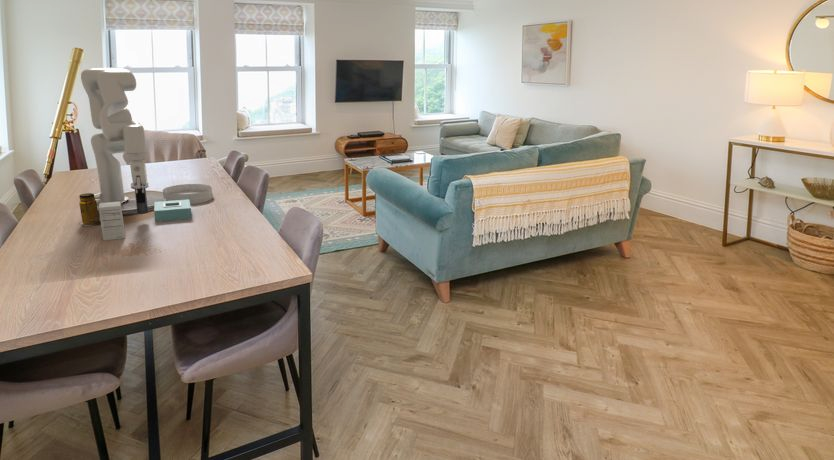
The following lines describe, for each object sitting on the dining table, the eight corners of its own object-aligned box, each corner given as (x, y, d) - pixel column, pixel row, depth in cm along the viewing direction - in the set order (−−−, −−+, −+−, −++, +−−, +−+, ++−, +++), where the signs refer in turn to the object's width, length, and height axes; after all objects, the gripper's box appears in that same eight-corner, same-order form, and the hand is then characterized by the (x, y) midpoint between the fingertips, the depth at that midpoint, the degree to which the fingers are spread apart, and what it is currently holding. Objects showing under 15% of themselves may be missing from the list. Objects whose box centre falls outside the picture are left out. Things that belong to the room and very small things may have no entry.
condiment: (78, 223, 237) (74, 194, 234) (100, 219, 243) (96, 191, 240) (86, 227, 233) (81, 197, 229) (108, 222, 239) (104, 193, 235)
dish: (196, 206, 267) (195, 195, 265) (153, 203, 271) (151, 192, 269) (221, 195, 287) (220, 185, 286) (180, 192, 292) (179, 182, 290)
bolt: (133, 215, 235) (130, 185, 231) (134, 210, 241) (131, 182, 237) (151, 213, 237) (148, 184, 234) (151, 209, 243) (148, 181, 239)
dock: (155, 221, 241) (154, 210, 240) (155, 211, 255) (154, 201, 254) (191, 218, 246) (190, 207, 245) (190, 209, 260) (189, 198, 259)
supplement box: (103, 235, 223) (98, 202, 219) (125, 233, 226) (121, 201, 222) (102, 240, 216) (97, 207, 213) (125, 238, 219) (120, 205, 216)
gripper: (146, 160, 226) (151, 206, 232) (147, 152, 241) (151, 195, 246) (124, 160, 223) (130, 207, 229) (126, 152, 238) (132, 196, 244)
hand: (141, 200), depth 238 cm, fingers closed on bolt, 4 cm apart
